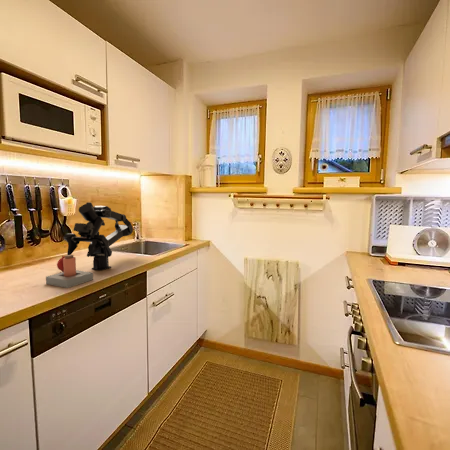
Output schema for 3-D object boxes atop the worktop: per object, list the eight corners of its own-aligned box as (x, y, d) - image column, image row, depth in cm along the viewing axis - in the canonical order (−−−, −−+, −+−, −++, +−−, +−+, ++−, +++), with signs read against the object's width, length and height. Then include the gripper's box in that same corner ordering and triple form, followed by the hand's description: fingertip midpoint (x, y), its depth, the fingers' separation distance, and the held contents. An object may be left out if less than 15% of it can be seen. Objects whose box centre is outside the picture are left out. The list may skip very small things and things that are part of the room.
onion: (69, 269, 130) (68, 253, 129) (74, 272, 126) (73, 255, 125) (55, 272, 125) (54, 255, 124) (60, 274, 122) (59, 257, 121)
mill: (67, 280, 114) (65, 254, 113) (78, 279, 114) (77, 254, 113) (62, 283, 109) (61, 256, 108) (73, 283, 110) (72, 256, 109)
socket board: (72, 276, 119) (72, 269, 119) (93, 279, 115) (92, 272, 115) (46, 283, 108) (45, 276, 108) (67, 287, 104) (66, 280, 104)
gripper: (65, 215, 121) (47, 244, 111) (103, 216, 118) (88, 246, 108) (78, 230, 129) (62, 258, 120) (114, 232, 126) (100, 260, 117)
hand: (77, 255), depth 116 cm, fingers open, 9 cm apart
